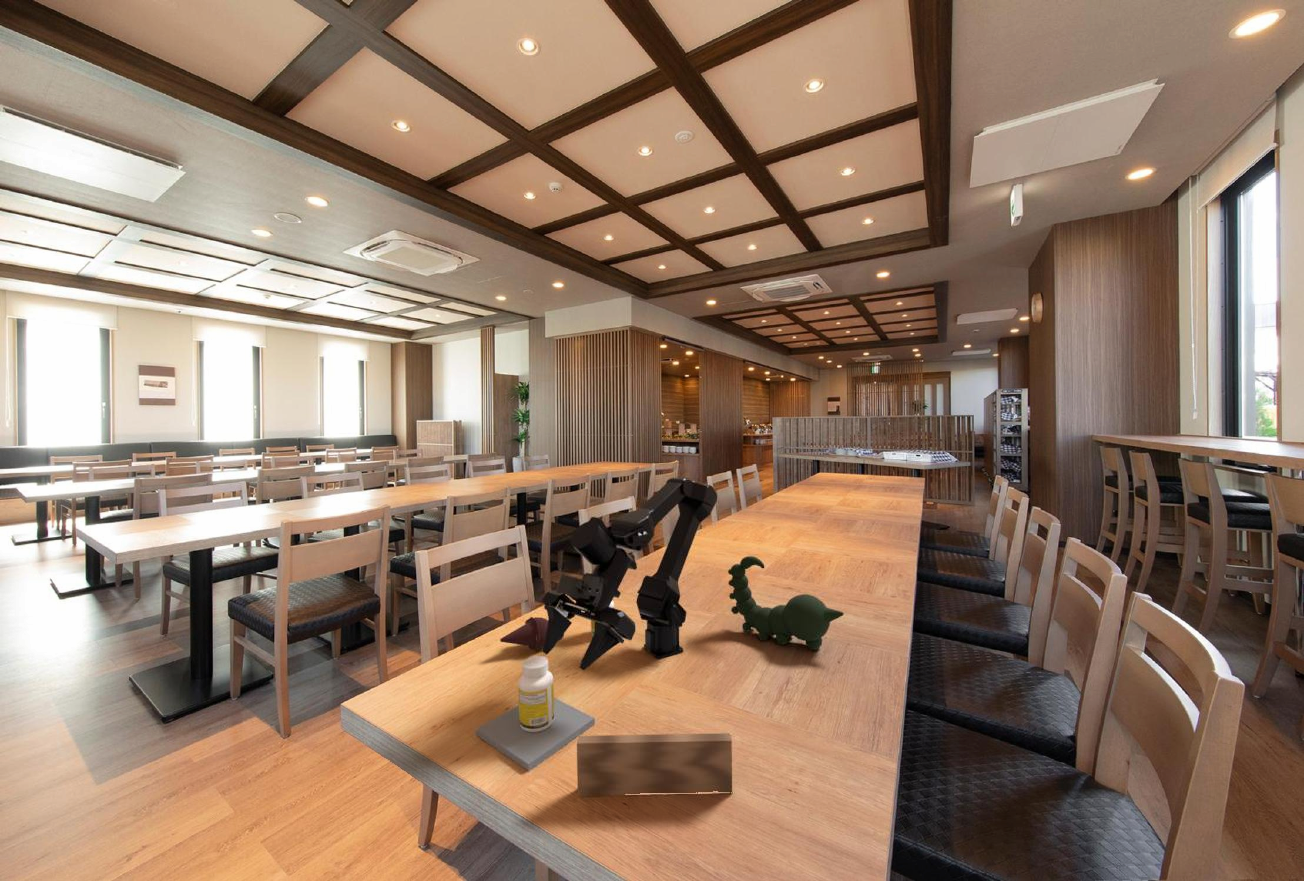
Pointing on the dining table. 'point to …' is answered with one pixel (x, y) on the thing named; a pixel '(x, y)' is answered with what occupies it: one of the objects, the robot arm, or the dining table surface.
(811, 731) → the dining table surface
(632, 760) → the walnut screen
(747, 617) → the toy figurine
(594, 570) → the robot arm
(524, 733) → the grey mat
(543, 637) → the icecream
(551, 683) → the supplement bottle
